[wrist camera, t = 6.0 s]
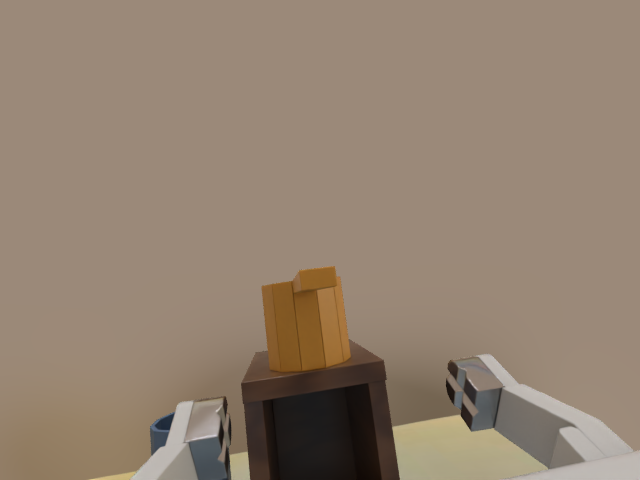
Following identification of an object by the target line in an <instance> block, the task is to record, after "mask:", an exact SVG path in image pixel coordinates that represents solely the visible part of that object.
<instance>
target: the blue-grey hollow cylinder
mask: <svg viewBox="0 0 640 480" xmlns="http://www.w3.org/2000/svg"><path fill="white" fill-rule="evenodd" d="M174 414H175V412H173V413H170V414H168V415H166V416H164V417H162V418H160V419H158V420H156V421H155V422H154V423H153V424H152V425H151V426H150V436H151V456H152V455H153V454H154V453H155V452H156V451H157V450H158V449H159V448H160V447H164V446H165V444H166V441H167V438H168V434H169V431H170V428H171V424H172V421H173V418H174ZM228 454H229V447H228ZM220 480H231V471H230V458H229V465H228V475H227V478H224V479H220Z"/></svg>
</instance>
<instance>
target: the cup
mask: <svg viewBox="0 0 640 480" xmlns="http://www.w3.org/2000/svg"><path fill="white" fill-rule="evenodd" d="M262 296H263V306H264V316H265V326H266V336H267V347H268V357H269V367H270V370H274V371H278V372H301V371H309V370H315V369H321V368H325V367H326V368H327V367H330V366H333V365H337V364H340V363H343V362H345V361H346V360H348V359H349V358H350V357H351V354H350V346H349V339H348V333H347V325H346V317H345V309H344V302H343V294H342V287H341V281H340V277H336V271H335V266H333V267H332V266H331V267H323V268H314V269H306V270H300V271H299V272H298V273H297V275H296V276H295V278H294V280H293V281H289V282H282V283H276V284H270V285H265V286H262Z"/></svg>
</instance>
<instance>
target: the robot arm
mask: <svg viewBox="0 0 640 480" xmlns="http://www.w3.org/2000/svg"><path fill="white" fill-rule="evenodd" d="M448 370H449V371H450V375H449V376H448V377H447V378H446V387H447V393H448V395H449V398H450V400H451V401H452V403H453V404H454V406H456V407H458V408H459V409H461V417H462V418H463V420H464V421H465V423H466V424H467V426H468V427H469V429H470V430H471V432H472V431H478V430H485V429H491V428H494V429H495V430H496V431H497V432H499V433H500V434H502V435H503V436H504V437H506V438H507V439H509V440H510V441H511V442H513V443H514V444H516V445H517V446H518V447H520V448H521V449H523V450H524V451H525V452H527V453H528V454H530V455H531V456H532V457H534V458H535V459H537V460H538V461H539V462H541V463H542V464H544V465H545V466H546V467H548V468H549V469H548V470H543V471H538V472H534V473H529V474H524V475H520V476H515V477H510V478H505V479H501V480H640V450H638V451H634V450H633V449H631V448H630V447H629V446H628V445H627V444H626V443H625V442H624V441H623V440H622V439H621V438H619V437H618V436H617V435H616V434H615V433H614V432H613V431H612V430H611V429H609V428H608V427H607V426H606V425H605V424H604V423H603V422H602V421H600V420H599V419H597V418H595V417H593V416H591V415H589V414H586V413H584V412H582V411H580V410H578V409H576V408H573V407H571V406H569V405H567V404H565V403H563V402H561V401H558V400H556V399H554V398H552V397H550V396H548V395H546V394H543V393H541V392H539V391H537V390H535V389H533V388H531V387H528V386H526V385H524V384H521V385H519V384H518V383H517V382H516V380H514V378H513V377H512V376H511V375H510V374H509V373H508V372H507V371H506V370H505V369H504V368H503V367H502V366H501V365H500V364H499V363H498V362H497V361H496V360H495V359H494V358H493V357H492V356H491V355H490V354H483V355H477V356H472V357H466V358H460V359H454V360H450V361H449V363H448ZM227 405H228V404H227V400H226V397H225V396H221V397H214V398H206V399H198V400H194V401H186V402H180V403H179V404H178V406H177V408H176V411H175V414H174V418H173V421H172V424H171V428H170V431H169V434H168V438H167V441H166V444H165V446H164V447H160V448H159V449H158V450H157V451H156V452H155V453H154V454H153V455H152V456H151V457H150V458H149V460H148V461H147V462H146V463H145V464H144V465H143V466H142V467H141V468H140V469H139V470H138V471H137V472H136V473H135V474H134V475H133V476H132V477H131V479H130V480H220V479H224V478H227V475H228V465H229V454H228V447H229V446H230V445H231V421H230V414H228V413H227Z"/></svg>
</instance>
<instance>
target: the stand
mask: <svg viewBox="0 0 640 480" xmlns="http://www.w3.org/2000/svg"><path fill="white" fill-rule="evenodd" d="M349 346H350V354H351V357H350V358H349V359H348V360H346V361H345V362H343V363H340V364H337V365H333V366H330V367H327V368H326V367H325V368H321V369H315V370H309V371H301V372H278V371H274V370H270V367H269V357H268V351H263V352H256V354H255V355H254V357H253V360H252V362H251V364H250V366H249V368H248V370H247V373H246V375H245V376H244V379H243V381H242V383H241V386H242V397H243V404H244V409H245V421H246V434H247V445H248V457H249V469H250V480H400V477H399V471H398V464H397V457H396V450H395V444H394V437H393V430H392V424H391V418H390V411H389V404H388V397H387V390H386V384H385V380H386V372H385V365H384V360H382V359H381V358H379V357H377V356H376V355H374V354H373V353H371V352H369V351H368V350H366V349H364V348H363V347H361V346H359V345H358V344H356V343H355V342H353V341H351V340H350V339H349Z"/></svg>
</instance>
